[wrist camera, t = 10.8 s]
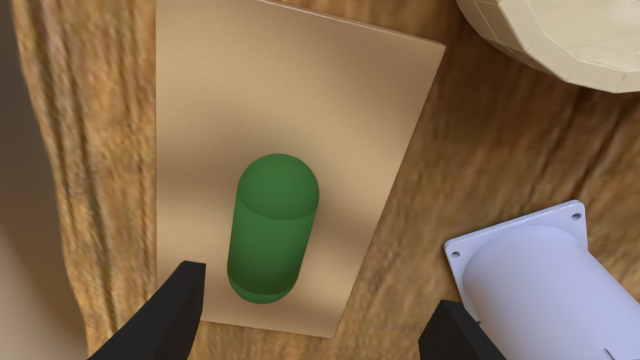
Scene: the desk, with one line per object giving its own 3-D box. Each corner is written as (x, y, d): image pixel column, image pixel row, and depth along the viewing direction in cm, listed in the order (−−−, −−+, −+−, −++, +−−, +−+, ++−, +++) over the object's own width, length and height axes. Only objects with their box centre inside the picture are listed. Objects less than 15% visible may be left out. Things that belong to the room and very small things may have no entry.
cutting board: (332, 324, 26) (333, 339, 25) (163, 300, 24) (156, 315, 23) (439, 41, 16) (447, 46, 15) (165, -28, 15) (154, -28, 13)
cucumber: (288, 266, 22) (296, 320, 19) (225, 264, 21) (221, 320, 17) (319, 144, 18) (336, 186, 14) (241, 134, 16) (241, 177, 13)
